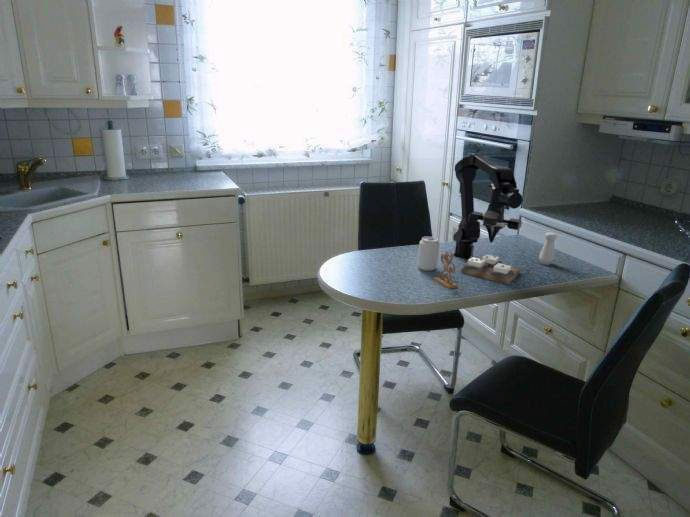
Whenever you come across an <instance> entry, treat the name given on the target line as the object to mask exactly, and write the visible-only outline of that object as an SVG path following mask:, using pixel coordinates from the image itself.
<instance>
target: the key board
mask: <svg viewBox="0 0 690 517" xmlns="http://www.w3.org/2000/svg"><path fill="white" fill-rule="evenodd" d="M467 263H468V261H467V262H465V263H464V264H463V266H461V270H460V273H462V274H464V275H465V274H466V275H470V276H474V277H478V278H481V279H486V280H490V281H493V282H497V283H500V282H501V284H505V285H509V284H510V283H511V282H512V281H514V279H516V278H517V277H518V275H520V274H519V273H521V268H519V267H516V266H512V265H510V266H511V271H510V272H509V273H507V274H503V273H499V272H495V271H493V269H494V266H495V265H496V264H498V263H500V264H503V263H502V260H499V261H498V262H497V263H496V264H490V263H486V262H485V264H484V265H483V266H482V267H480V268H479V267H475V266H471V265H467Z"/></svg>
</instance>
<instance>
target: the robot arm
mask: <svg viewBox="0 0 690 517" xmlns="http://www.w3.org/2000/svg"><path fill="white" fill-rule="evenodd" d="M479 170H481V171H483V172H484V173H485V174H486V175H487V176H488V179H489V181H490V182H491V184H489V185H488V188H490V189H491V192H490V197H489V198H490V199H489V204H488V205H487V210H486V211H485V213H484V212H479V211H475V205H474V204H475V202H474V185H473V183H474V181H475V179H476V177H477V171H479ZM454 172H455V178H456V179H457V181H458V183H459V185H460V203H461V204H460V205H461V220H460V222H459V224H458V229H457V231H455V233H454V234H453V235H452V237H453V241H454V242H456V243H455V250H454V253H452V255H453V257H454V256H455V257H458V258H463V259H466V260H469V259H470V258H472V257H474V256H473V255H474V249H475V246H474V243H478V241H479V238H480V235H481V223H480V221H482V226H484V227H485V228H486V231H487V234H488V239H489V243H493V242H494V241H495V239H496V237H497V235H498V234H499V232H500V231H501V230H502V229H504V228H505V227H506V226H507V228H508V230H509V229H510V230H513V231H518V230H519V229H521V228H522V226H523V220H521V219H519V218H513V217H511V218H509V219H505V210H506V207H509V208H511V209H517V208H519V207H520V206H521V205H522V203H523V196H522V194H521V193H520V189H519V188H518V187H517V182H516V178H515V174H514V171H513V169H512V168H510V167H508V166H503V165H499V164H497V163H495V162H493V161H492V160H491V159H488V158H487V156H486V157H485V156H484V154H482V153H471V154H469V155H468V156H467V157H464V158H461V159H460V160H458V161H457V163H455V165H454Z"/></svg>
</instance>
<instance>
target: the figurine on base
mask: <svg viewBox="0 0 690 517" xmlns="http://www.w3.org/2000/svg"><path fill="white" fill-rule="evenodd" d="M453 260H454V255H453V253H452V252H451V251H446V252H445V253H442V254H441V255H440V261H441V263H442V264H443V265H444V266H443V270H442V272H441V273H440V275H439V276H436V277H434V278H433V281H435V282H436V283H437V284H439V285H442V286H443V287H445V288H446V289H450V290H451V289H456V288H458V284H456V283H455V282H453V280H452V279H453V278H452V274H455V273H456V266H455V264H454V263H453V262H452V261H453ZM450 265H451V266H450ZM445 272H446V273H445ZM444 273H445V274H444Z"/></svg>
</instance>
